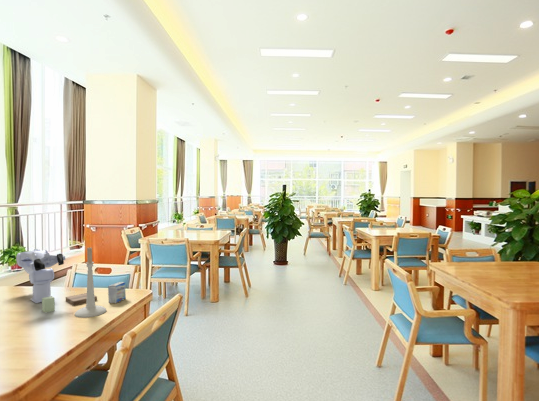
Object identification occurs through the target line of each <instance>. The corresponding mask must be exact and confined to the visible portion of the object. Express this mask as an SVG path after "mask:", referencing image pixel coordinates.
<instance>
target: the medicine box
mask: <svg viewBox="0 0 539 401" xmlns="http://www.w3.org/2000/svg"><path fill="white" fill-rule="evenodd" d="M107 288H108V289H107V291H108V292H107V294H108V296H107V297H108V303H110V304H118V303H120V302H122V301H124V300H126V282H124V281H118V282H115V283H112V284H110V285H108V287H107ZM123 299H124V300H123ZM121 300H122V301H121ZM119 301H120V302H119ZM117 302H118V303H117Z"/></svg>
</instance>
